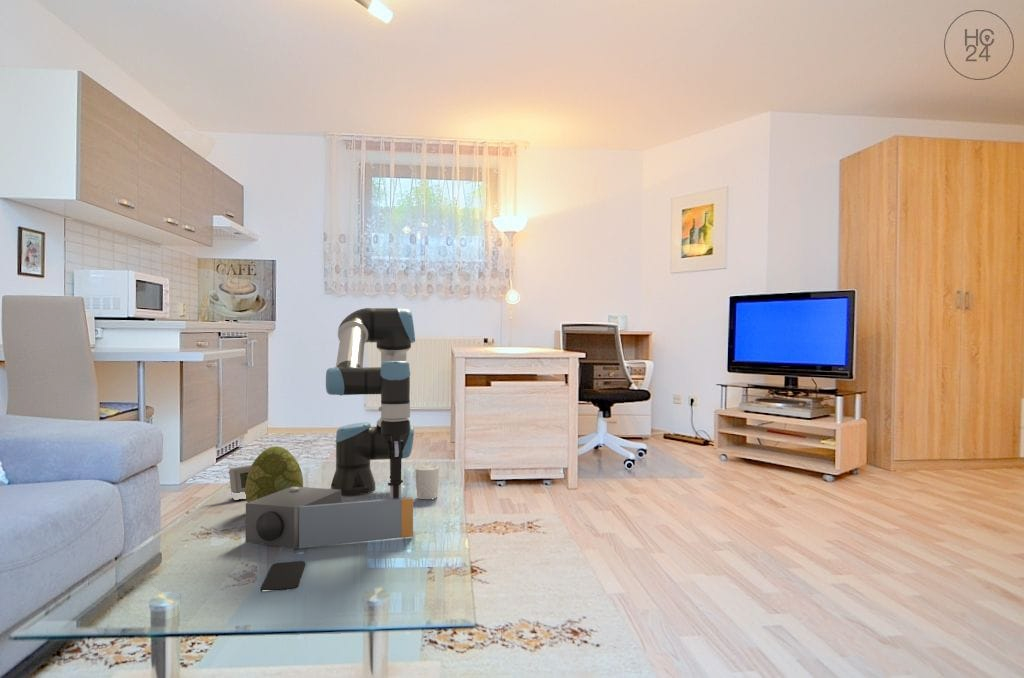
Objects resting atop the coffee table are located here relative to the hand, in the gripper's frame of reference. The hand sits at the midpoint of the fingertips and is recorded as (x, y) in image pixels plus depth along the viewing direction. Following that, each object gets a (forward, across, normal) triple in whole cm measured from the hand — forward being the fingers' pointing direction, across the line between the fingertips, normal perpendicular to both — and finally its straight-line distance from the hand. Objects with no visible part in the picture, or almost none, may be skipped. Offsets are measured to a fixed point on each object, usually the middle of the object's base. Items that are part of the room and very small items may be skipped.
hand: (395, 509), depth 151 cm
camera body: (+7, -10, -26) cm, 29 cm away
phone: (+8, +20, -25) cm, 33 cm away
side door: (+7, +2, -10) cm, 13 cm away
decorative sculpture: (+8, -34, -34) cm, 49 cm away
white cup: (+8, -39, +12) cm, 42 cm away
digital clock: (+8, -56, -44) cm, 71 cm away
